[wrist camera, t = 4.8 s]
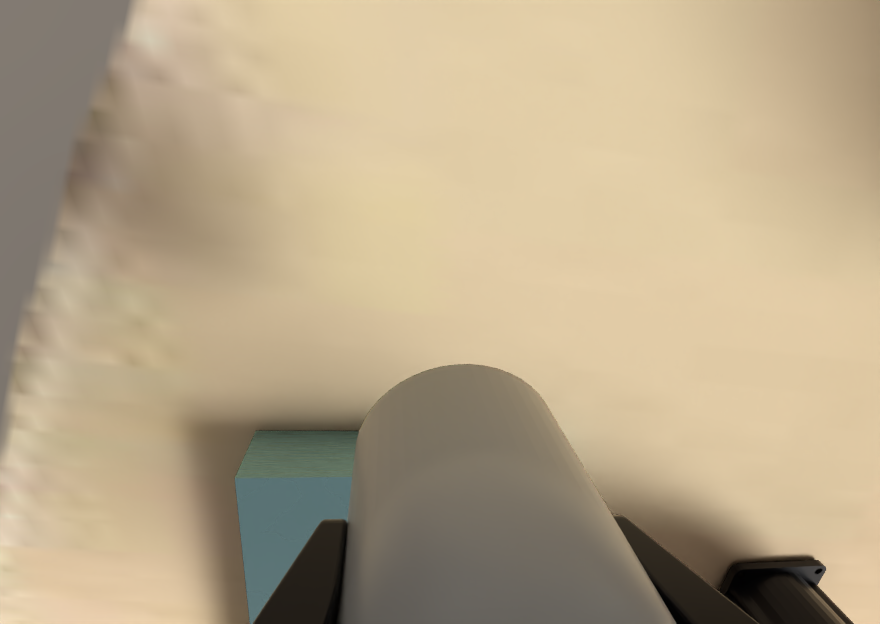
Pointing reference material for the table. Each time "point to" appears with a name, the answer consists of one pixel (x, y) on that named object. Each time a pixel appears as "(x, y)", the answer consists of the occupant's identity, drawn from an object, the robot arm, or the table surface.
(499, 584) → the grey cylinder
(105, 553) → the table surface
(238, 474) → the plate
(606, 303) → the table surface
